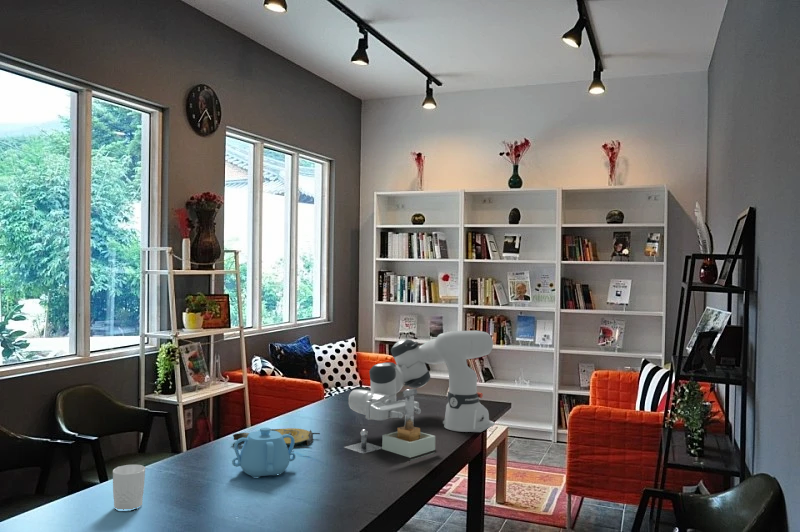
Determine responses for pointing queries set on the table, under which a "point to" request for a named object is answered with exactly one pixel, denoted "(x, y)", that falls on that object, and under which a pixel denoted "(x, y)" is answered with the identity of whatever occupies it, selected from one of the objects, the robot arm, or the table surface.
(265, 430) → the decorative pot
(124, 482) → the white cup
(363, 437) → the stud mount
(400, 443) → the bin
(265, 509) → the table surface
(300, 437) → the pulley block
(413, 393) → the strut
